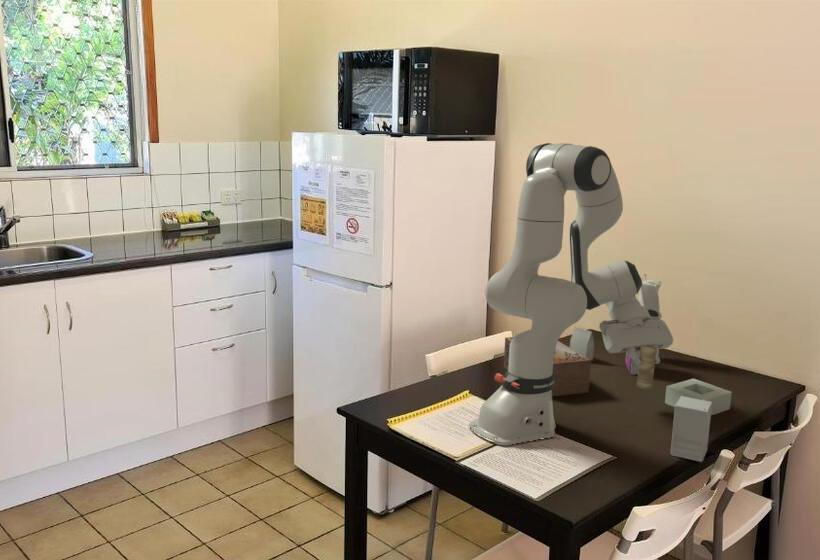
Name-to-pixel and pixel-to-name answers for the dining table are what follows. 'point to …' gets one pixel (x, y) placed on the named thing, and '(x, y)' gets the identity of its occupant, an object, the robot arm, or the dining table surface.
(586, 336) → the grey bevelled box
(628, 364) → the candy bar box
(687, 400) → the supplement box
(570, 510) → the dining table surface
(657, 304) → the skyscraper
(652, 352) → the peg
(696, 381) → the socket block
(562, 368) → the tissue box cover
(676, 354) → the dining table surface
